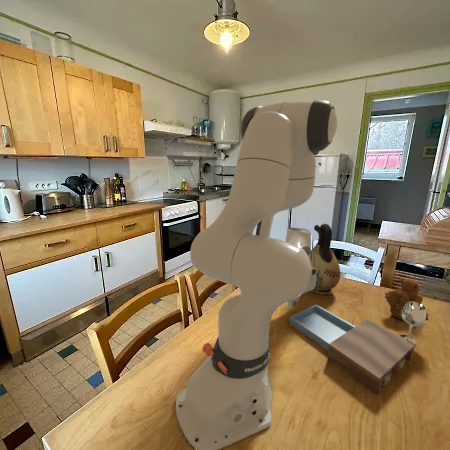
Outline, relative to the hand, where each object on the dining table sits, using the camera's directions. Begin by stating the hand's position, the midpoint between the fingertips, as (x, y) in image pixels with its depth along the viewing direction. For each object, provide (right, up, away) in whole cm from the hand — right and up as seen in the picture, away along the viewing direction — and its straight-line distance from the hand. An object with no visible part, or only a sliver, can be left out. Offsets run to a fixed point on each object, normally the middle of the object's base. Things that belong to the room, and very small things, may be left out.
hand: (292, 305), depth 89 cm
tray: (+8, -5, -11) cm, 14 cm away
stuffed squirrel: (+40, -3, -2) cm, 40 cm away
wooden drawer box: (+15, -7, -22) cm, 28 cm away
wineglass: (+32, -6, -15) cm, 35 cm away
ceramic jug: (+16, +2, +15) cm, 21 cm away
